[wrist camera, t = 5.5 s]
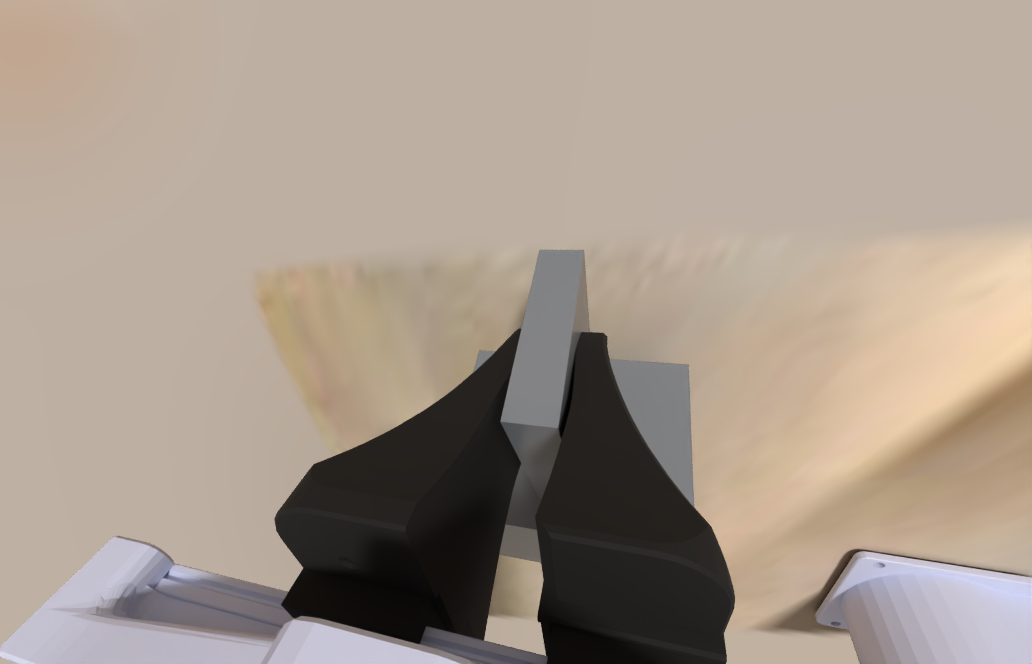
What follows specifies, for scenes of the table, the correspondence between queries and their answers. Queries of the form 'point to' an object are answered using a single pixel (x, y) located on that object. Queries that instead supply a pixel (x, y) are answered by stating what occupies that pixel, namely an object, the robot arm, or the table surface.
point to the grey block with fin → (549, 387)
